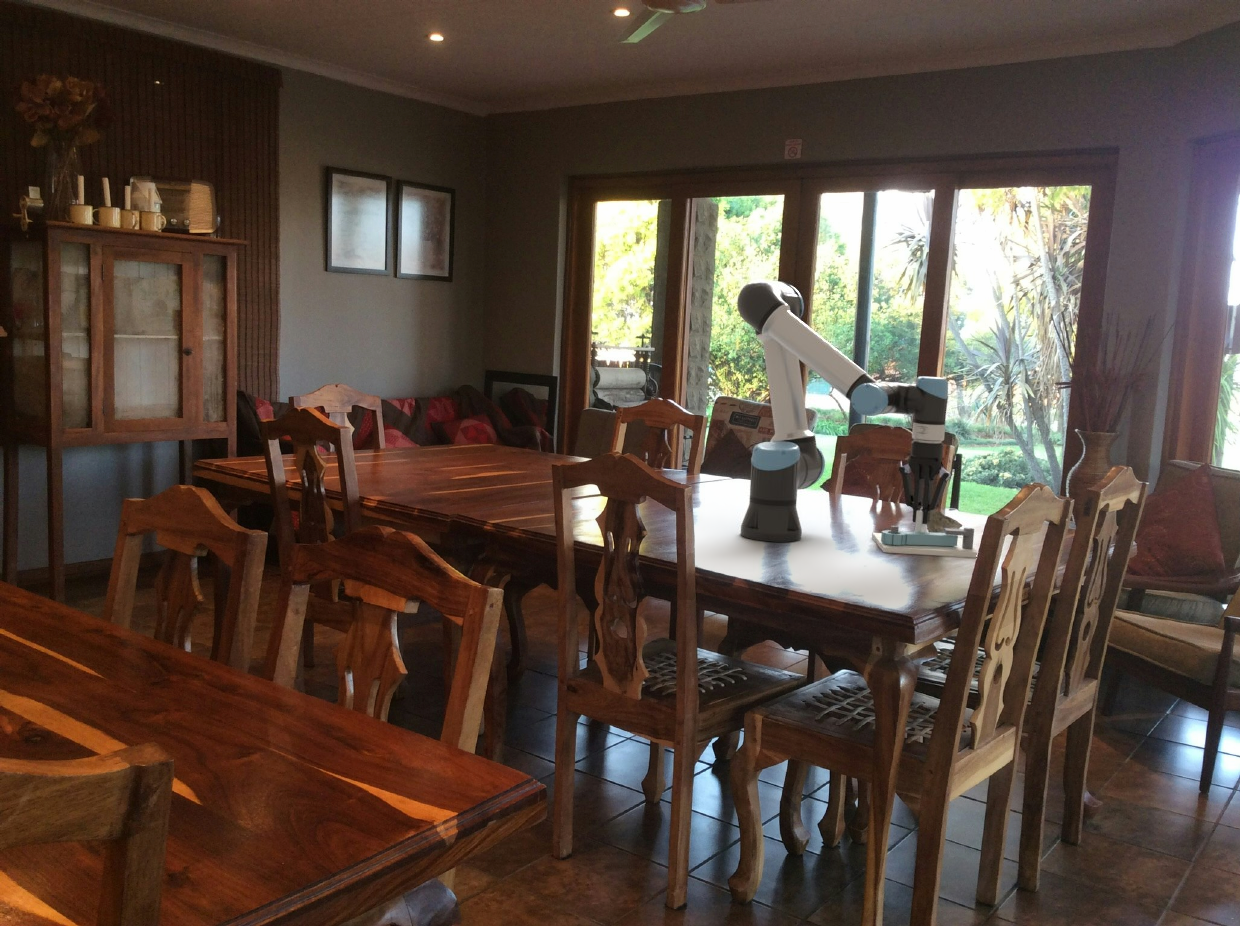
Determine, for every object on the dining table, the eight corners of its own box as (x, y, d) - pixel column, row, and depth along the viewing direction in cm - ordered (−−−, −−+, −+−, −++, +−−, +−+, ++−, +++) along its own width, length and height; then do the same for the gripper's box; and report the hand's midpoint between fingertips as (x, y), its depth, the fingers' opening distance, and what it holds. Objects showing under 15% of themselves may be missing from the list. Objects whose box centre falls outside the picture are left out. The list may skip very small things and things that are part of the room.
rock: (941, 537, 270) (923, 505, 275) (927, 550, 275) (909, 518, 280) (972, 534, 276) (954, 503, 281) (958, 547, 280) (940, 515, 285)
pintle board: (883, 552, 254) (885, 527, 253) (871, 537, 273) (873, 514, 272) (978, 557, 252) (980, 532, 252) (960, 542, 271) (961, 519, 270)
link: (885, 544, 256) (886, 534, 255) (878, 540, 261) (879, 530, 261) (958, 546, 257) (959, 536, 256) (950, 542, 262) (951, 532, 262)
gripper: (895, 439, 260) (888, 534, 263) (947, 445, 252) (938, 543, 255) (909, 437, 266) (901, 530, 269) (959, 442, 258) (951, 538, 261)
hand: (919, 536), depth 262 cm, fingers closed
